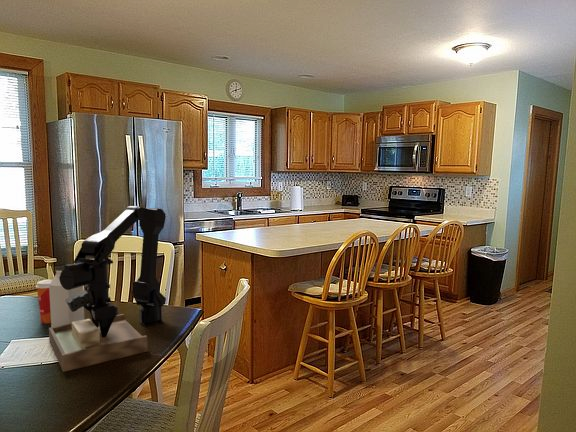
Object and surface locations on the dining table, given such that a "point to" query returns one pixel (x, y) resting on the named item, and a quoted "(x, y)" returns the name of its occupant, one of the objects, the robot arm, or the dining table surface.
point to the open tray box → (111, 347)
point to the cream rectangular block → (85, 333)
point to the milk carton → (62, 303)
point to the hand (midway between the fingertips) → (100, 332)
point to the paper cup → (44, 300)
